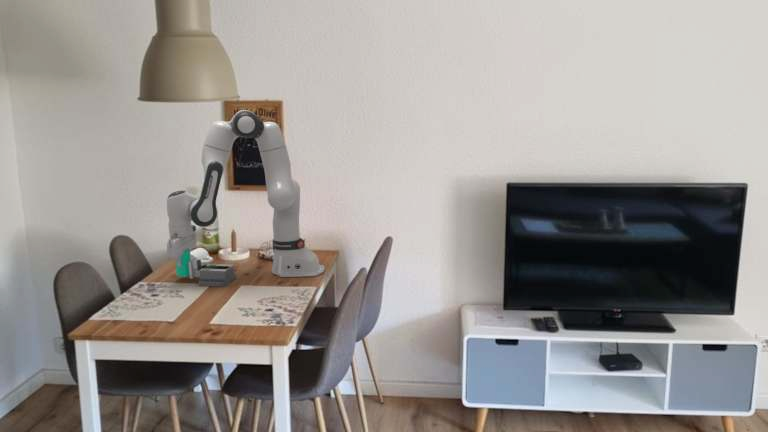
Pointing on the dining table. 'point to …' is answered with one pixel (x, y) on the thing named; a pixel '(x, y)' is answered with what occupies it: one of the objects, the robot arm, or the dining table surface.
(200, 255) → the mug
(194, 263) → the light grey block
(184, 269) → the candle
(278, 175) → the robot arm
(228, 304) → the dining table surface
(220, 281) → the grey box
